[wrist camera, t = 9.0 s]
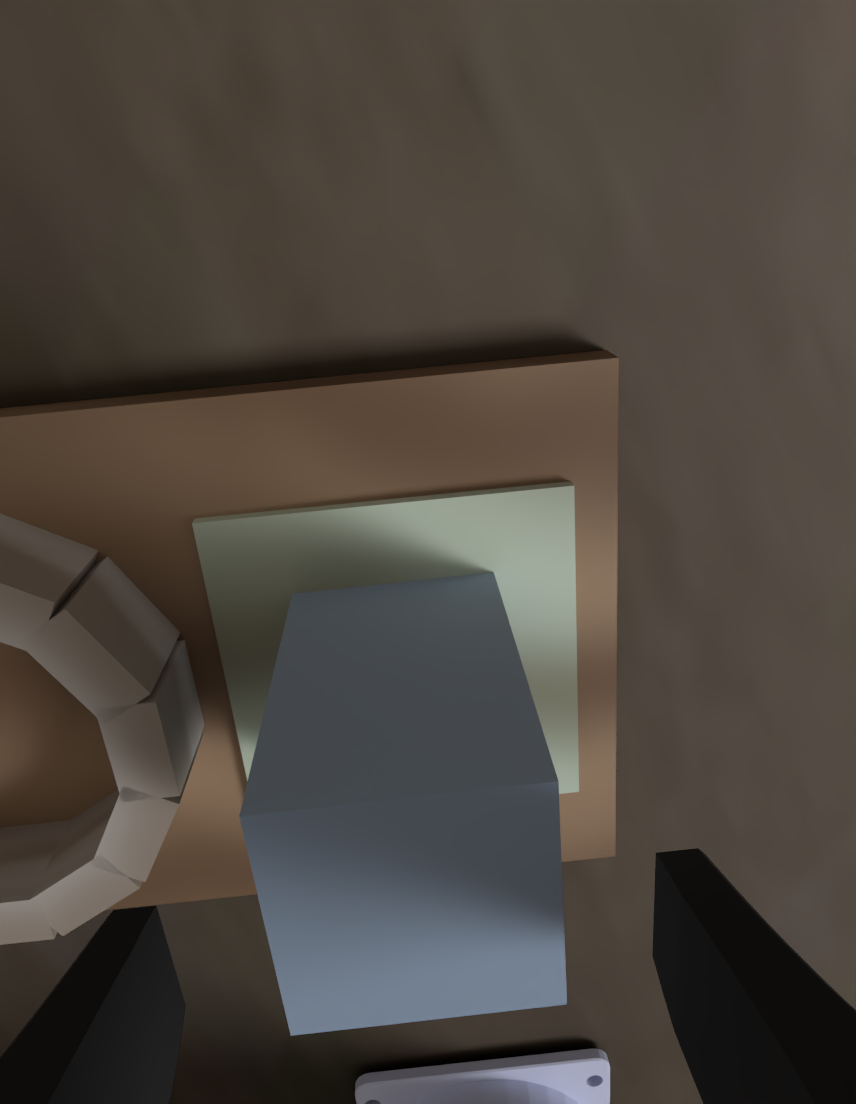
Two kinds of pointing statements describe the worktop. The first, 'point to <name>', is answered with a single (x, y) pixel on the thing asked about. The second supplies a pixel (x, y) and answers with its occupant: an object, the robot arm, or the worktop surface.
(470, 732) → the peg block
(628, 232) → the worktop surface
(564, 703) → the board
